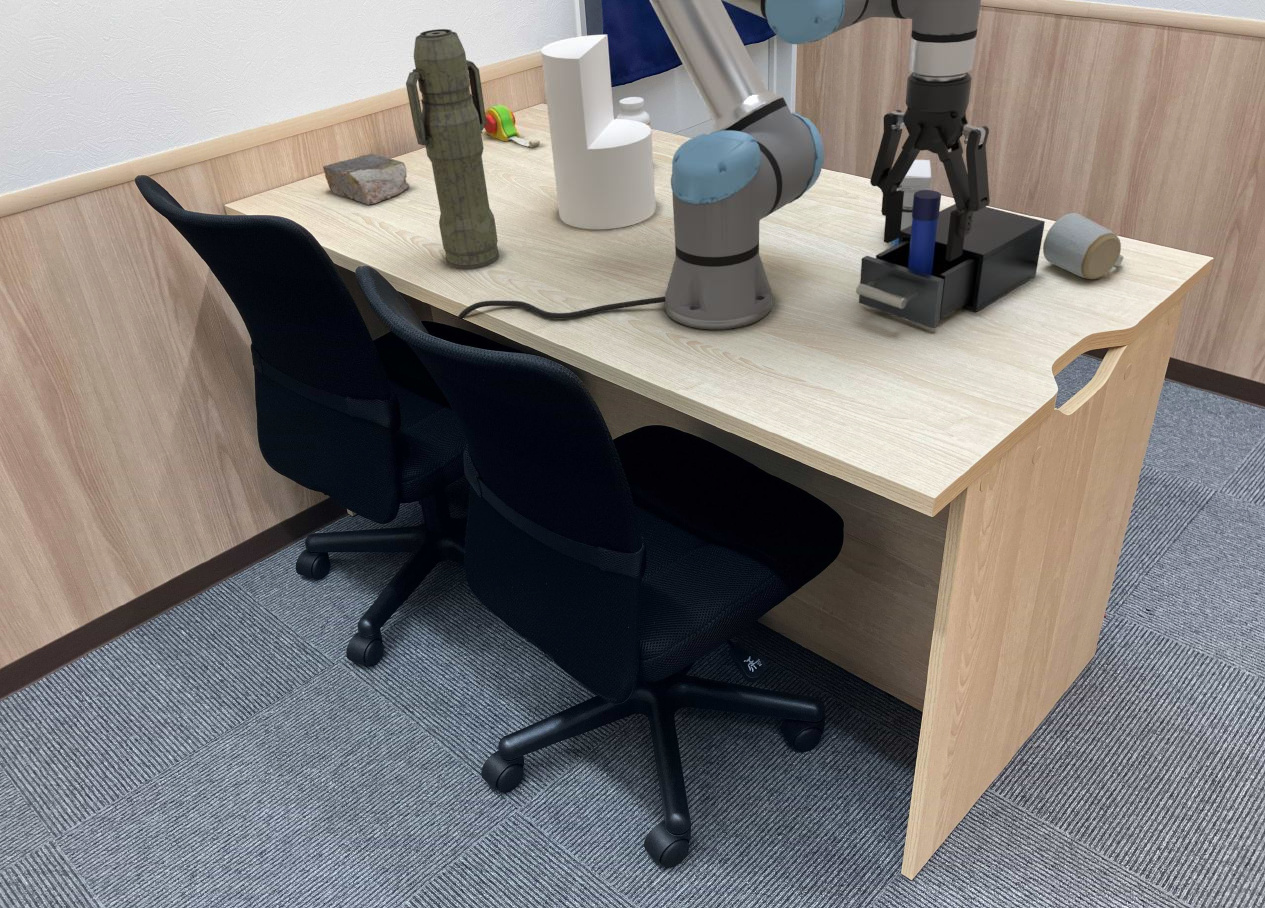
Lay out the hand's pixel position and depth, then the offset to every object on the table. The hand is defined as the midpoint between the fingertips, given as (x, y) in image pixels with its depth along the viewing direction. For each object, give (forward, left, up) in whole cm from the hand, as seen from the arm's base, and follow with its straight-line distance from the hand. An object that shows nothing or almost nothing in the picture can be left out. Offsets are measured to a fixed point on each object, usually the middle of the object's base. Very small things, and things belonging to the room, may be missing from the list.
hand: (922, 248), depth 133 cm
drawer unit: (+10, +6, -9) cm, 15 cm away
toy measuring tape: (-46, +106, -9) cm, 116 cm away
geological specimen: (-76, +83, -9) cm, 113 cm away
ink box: (+9, +23, -9) cm, 26 cm away
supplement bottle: (-24, +76, -9) cm, 80 cm away
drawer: (0, 0, -8) cm, 8 cm away
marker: (0, 0, -7) cm, 7 cm away
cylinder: (-34, +54, -9) cm, 64 cm away
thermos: (-59, +41, -9) cm, 72 cm away
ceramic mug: (+28, +4, -9) cm, 30 cm away
